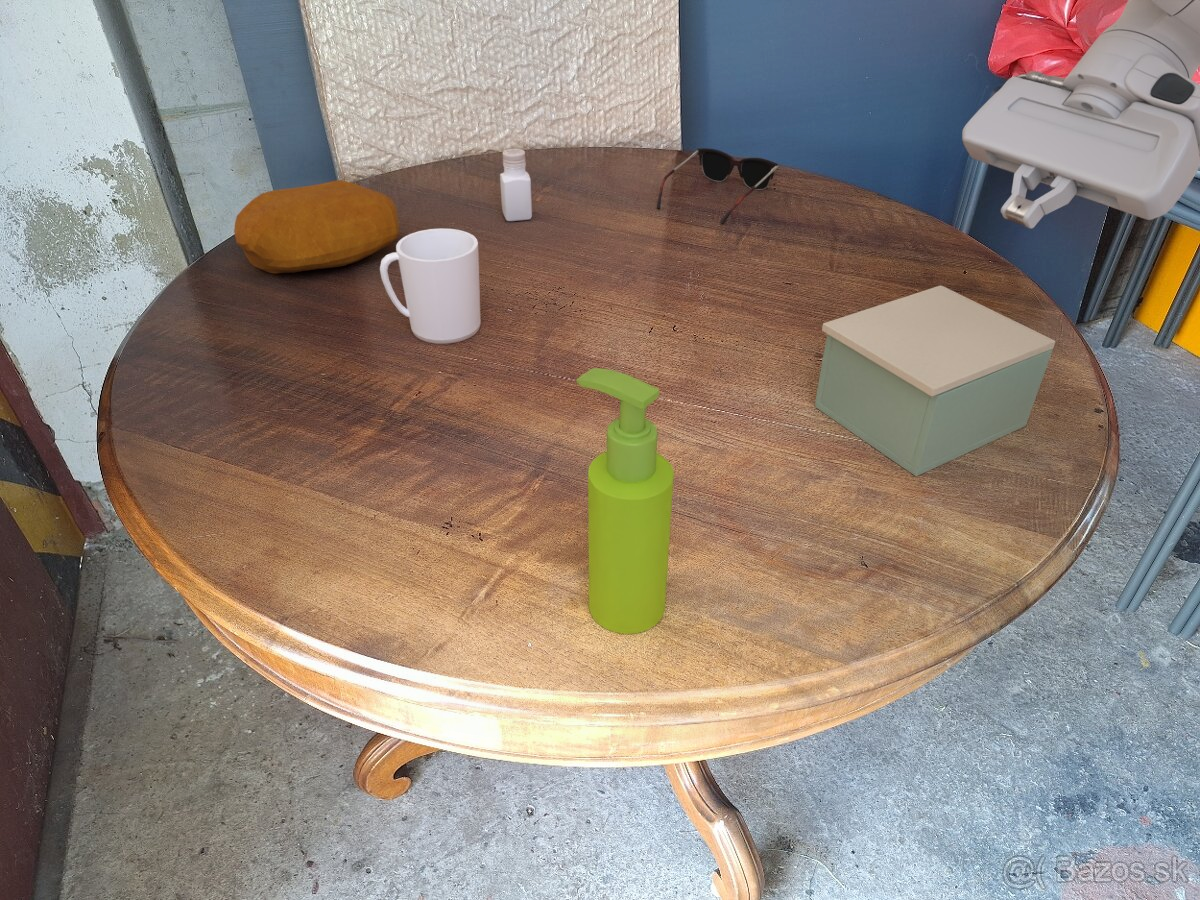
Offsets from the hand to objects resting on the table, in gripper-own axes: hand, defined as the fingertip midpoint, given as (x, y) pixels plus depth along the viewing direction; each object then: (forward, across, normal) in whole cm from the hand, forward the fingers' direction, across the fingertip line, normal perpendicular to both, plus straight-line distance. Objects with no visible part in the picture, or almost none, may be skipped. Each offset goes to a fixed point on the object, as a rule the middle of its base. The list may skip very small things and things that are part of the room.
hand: (1015, 220), depth 81 cm
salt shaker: (+26, -67, +2) cm, 72 cm away
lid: (+12, 0, +2) cm, 12 cm away
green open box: (+18, 0, +9) cm, 20 cm away
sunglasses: (+6, -58, +22) cm, 62 cm away
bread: (+46, -67, -18) cm, 83 cm away
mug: (+42, -42, -15) cm, 62 cm away
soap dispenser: (+46, +6, -19) cm, 50 cm away
